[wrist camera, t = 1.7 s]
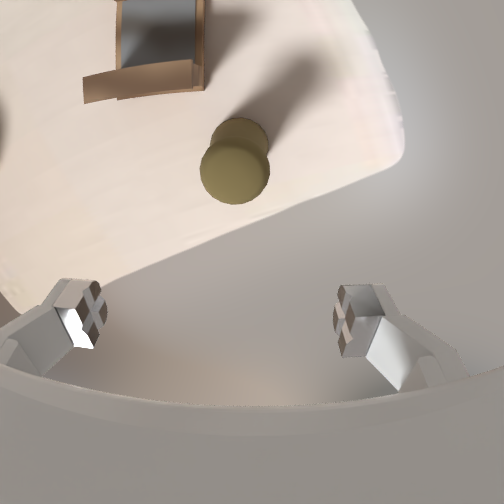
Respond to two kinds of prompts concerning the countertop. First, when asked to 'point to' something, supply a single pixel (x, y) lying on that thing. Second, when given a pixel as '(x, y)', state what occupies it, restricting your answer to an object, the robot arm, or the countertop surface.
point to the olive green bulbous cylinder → (236, 162)
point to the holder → (153, 51)
